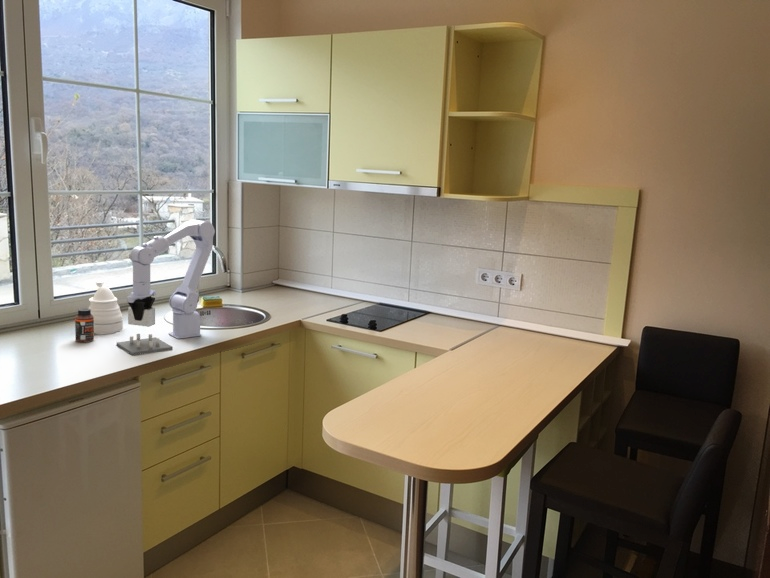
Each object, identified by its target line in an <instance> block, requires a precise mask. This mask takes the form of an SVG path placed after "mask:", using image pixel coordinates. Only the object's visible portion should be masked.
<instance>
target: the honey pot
mask: <svg viewBox="0 0 770 578" xmlns="http://www.w3.org/2000/svg"><path fill="white" fill-rule="evenodd" d="M95 284H96V286H97V287H98V289H97V290H96V291H95V292H94V295H93V296H92V297H90V298H89V299H88V302H89V306H88V308H87V309H91V315H93V317H94V334H98V333H105V334H113V332H114V333H118V332H120V331H122V330H123V328H124V325H123V324H124V322H123V320H124V319H123V314H122V312H121V309H120V308H121V307H120V305H119V304H118V298H117V297H116V296H115V295H114V292H113V291H112V290H111V289H110V288H109V287H108V286H106V285H104V281H102V280H100V281H98V280H97V281H96V282H95Z"/></svg>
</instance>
